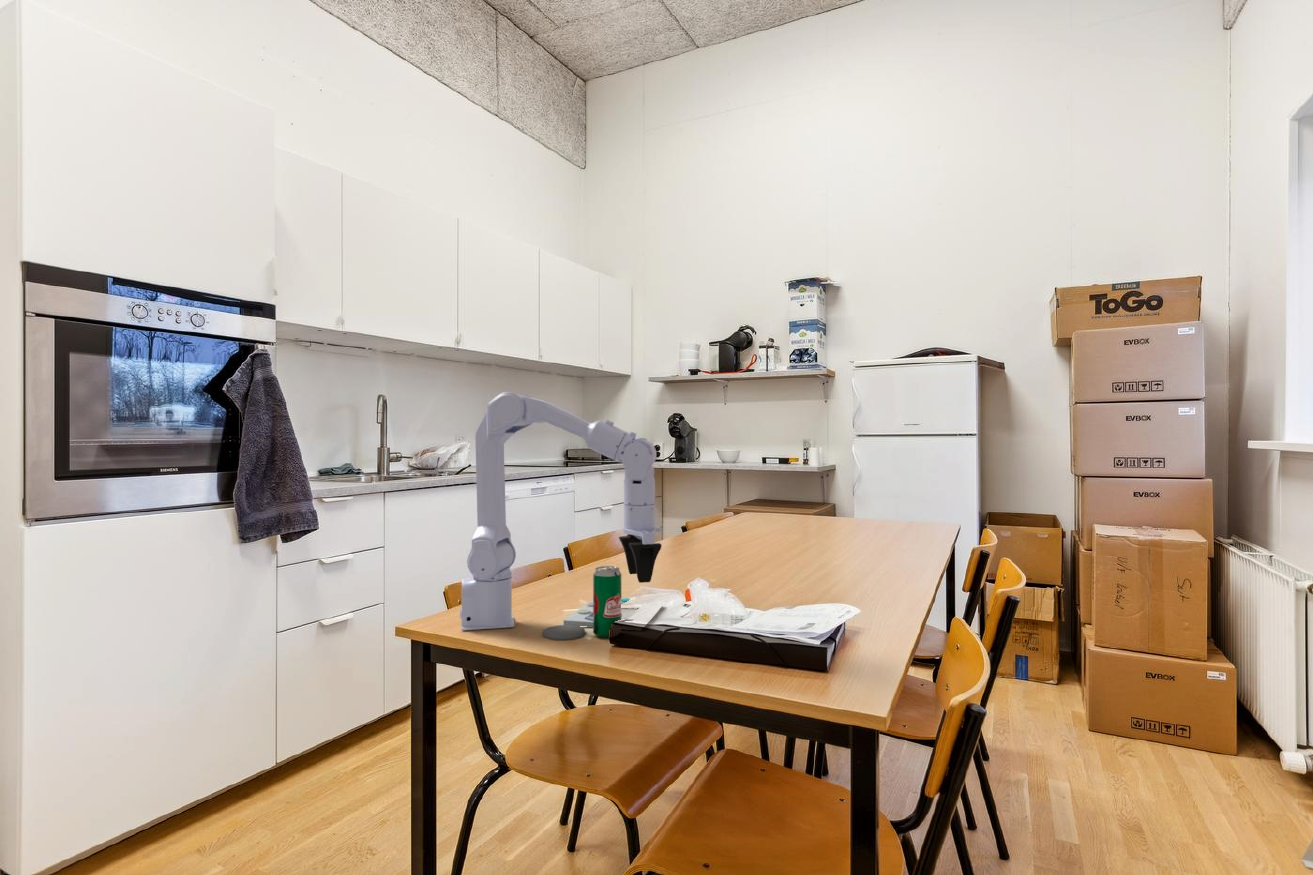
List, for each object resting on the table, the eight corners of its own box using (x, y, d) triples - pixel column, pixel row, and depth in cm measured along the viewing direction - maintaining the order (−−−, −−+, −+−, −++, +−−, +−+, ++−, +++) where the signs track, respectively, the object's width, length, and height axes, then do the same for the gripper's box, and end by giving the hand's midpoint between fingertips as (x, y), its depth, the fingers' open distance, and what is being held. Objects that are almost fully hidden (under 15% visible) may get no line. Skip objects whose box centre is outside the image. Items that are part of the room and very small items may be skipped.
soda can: (607, 641, 120) (607, 572, 119) (587, 635, 123) (587, 568, 123) (627, 634, 123) (627, 567, 123) (607, 629, 127) (607, 564, 127)
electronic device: (640, 622, 125) (563, 617, 129) (640, 635, 125) (563, 630, 129) (662, 599, 143) (594, 595, 147) (662, 610, 143) (594, 606, 147)
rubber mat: (544, 641, 119) (544, 638, 119) (541, 629, 126) (541, 626, 126) (587, 638, 121) (587, 635, 121) (581, 626, 128) (581, 623, 128)
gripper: (670, 507, 120) (671, 584, 120) (650, 499, 134) (651, 569, 135) (631, 508, 119) (631, 587, 119) (615, 500, 133) (615, 571, 133)
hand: (639, 577), depth 126 cm, fingers open, 7 cm apart
